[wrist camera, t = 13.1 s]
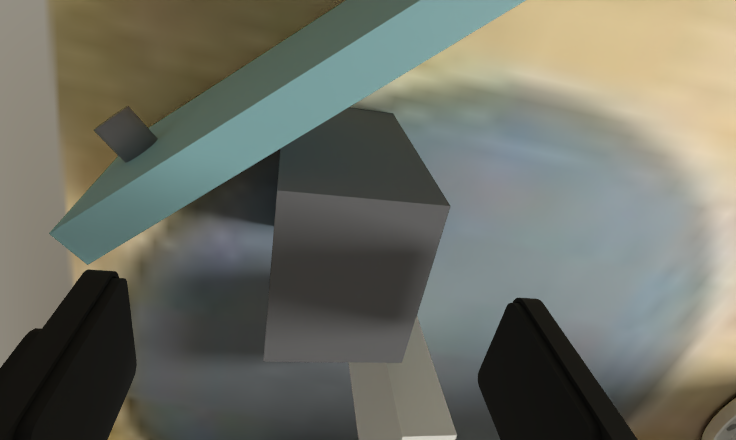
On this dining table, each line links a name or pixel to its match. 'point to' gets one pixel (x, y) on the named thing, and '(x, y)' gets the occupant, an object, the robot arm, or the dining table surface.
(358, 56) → the door
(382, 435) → the white rectangular block
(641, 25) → the dining table surface
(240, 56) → the dining table surface
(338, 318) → the gray rectangular block
